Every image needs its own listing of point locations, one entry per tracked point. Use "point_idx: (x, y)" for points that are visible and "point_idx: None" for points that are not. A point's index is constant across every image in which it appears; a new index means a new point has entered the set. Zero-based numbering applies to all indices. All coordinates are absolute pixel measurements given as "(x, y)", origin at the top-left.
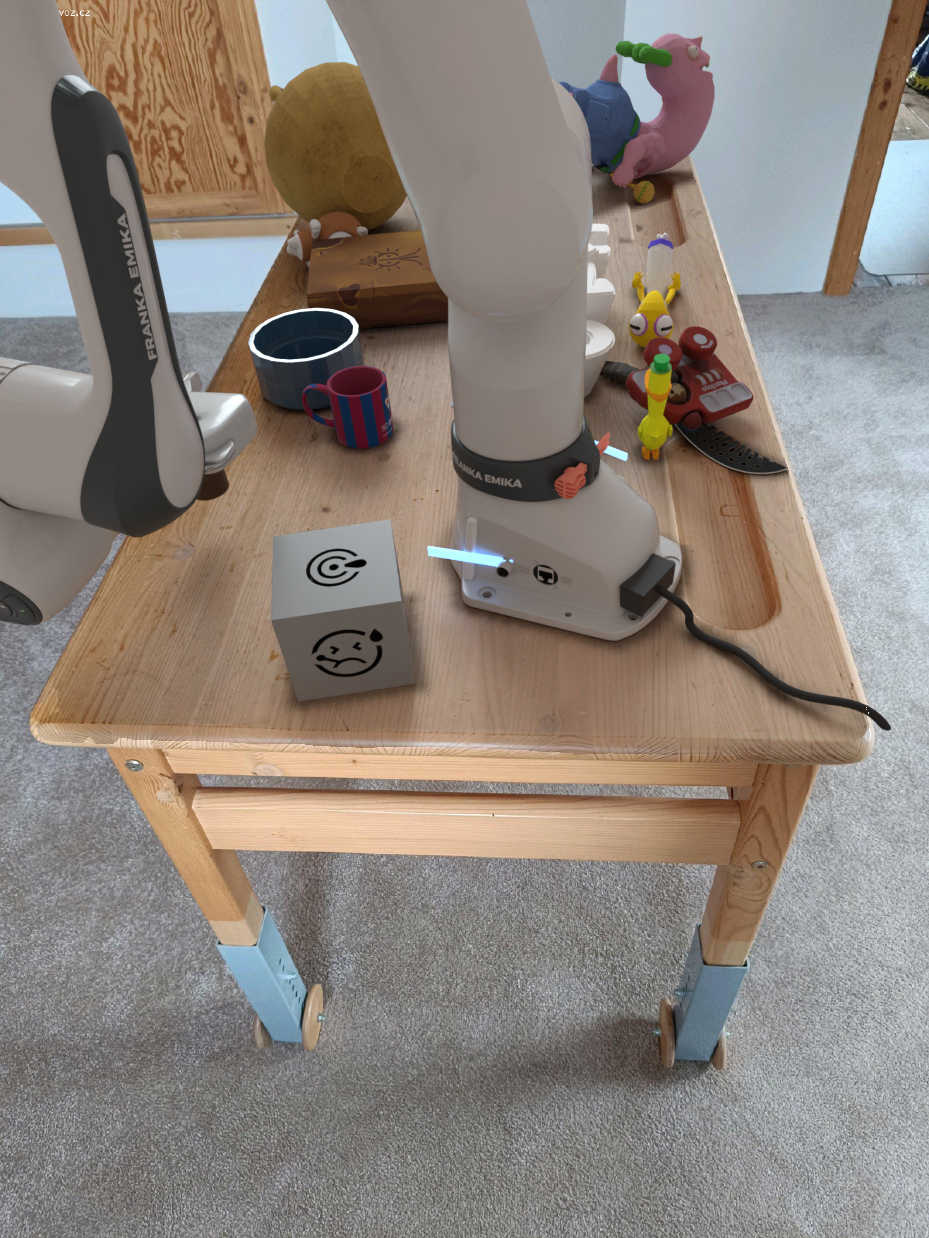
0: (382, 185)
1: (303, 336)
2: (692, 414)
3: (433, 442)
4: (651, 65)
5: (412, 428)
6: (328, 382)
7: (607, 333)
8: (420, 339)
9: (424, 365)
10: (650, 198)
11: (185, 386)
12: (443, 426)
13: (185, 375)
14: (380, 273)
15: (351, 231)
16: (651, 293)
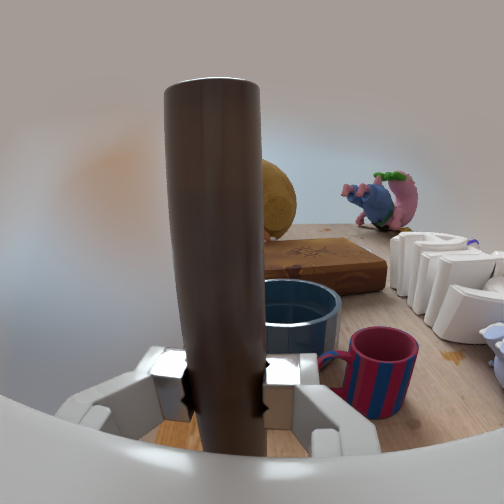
0: (284, 214)
1: (266, 303)
2: None
3: (446, 396)
4: (394, 181)
5: (414, 385)
6: (354, 347)
7: None
8: (351, 306)
9: (372, 325)
10: None
11: (333, 412)
12: (439, 378)
13: (290, 365)
14: (310, 258)
15: (267, 238)
16: None
